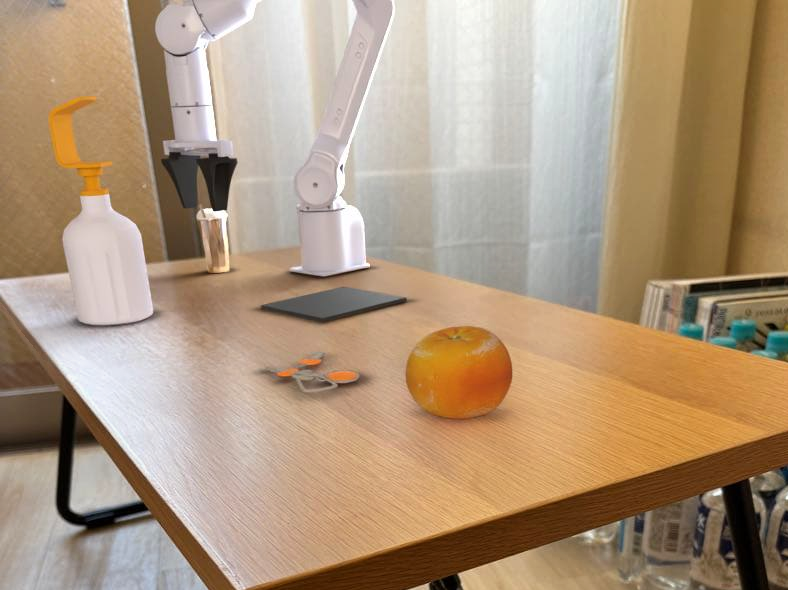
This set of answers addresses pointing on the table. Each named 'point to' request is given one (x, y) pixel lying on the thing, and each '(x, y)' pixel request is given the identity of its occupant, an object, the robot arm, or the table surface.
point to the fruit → (459, 372)
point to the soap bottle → (99, 240)
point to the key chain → (315, 374)
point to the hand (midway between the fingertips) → (205, 209)
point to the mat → (333, 303)
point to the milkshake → (214, 239)
